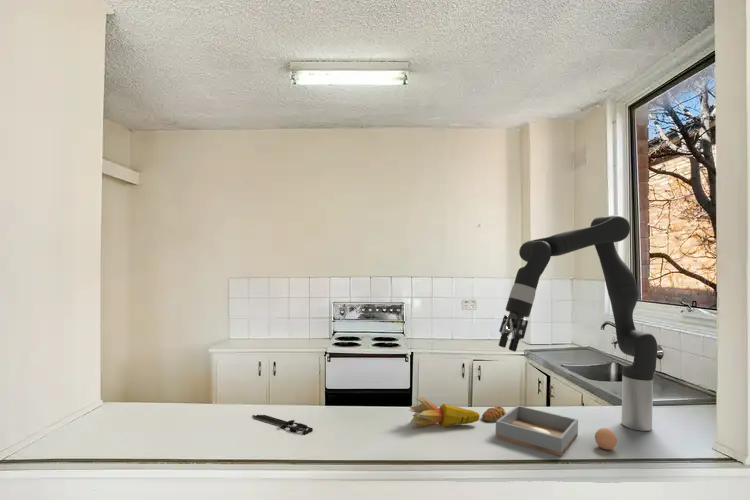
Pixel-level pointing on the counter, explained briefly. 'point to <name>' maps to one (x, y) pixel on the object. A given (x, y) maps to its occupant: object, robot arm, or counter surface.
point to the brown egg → (605, 438)
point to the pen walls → (535, 437)
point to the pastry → (493, 414)
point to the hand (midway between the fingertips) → (506, 348)
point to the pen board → (539, 428)
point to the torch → (440, 414)
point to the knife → (284, 423)
